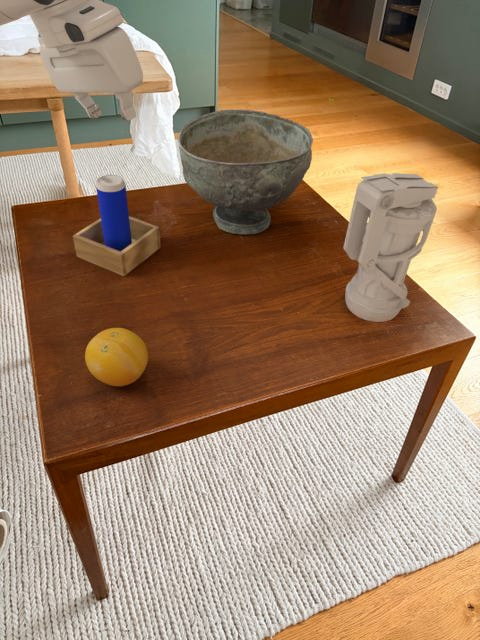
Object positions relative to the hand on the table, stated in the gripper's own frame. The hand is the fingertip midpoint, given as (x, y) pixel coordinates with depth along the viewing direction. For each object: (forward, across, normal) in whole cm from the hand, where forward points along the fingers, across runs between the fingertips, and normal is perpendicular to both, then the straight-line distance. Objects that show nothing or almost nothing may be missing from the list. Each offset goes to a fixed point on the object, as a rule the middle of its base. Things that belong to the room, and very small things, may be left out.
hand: (112, 117), depth 79 cm
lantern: (+40, +34, +12) cm, 54 cm away
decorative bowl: (+33, -1, +19) cm, 38 cm away
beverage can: (+25, -9, -6) cm, 27 cm away
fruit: (+26, +16, -27) cm, 41 cm away
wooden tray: (+25, -9, -6) cm, 27 cm away
